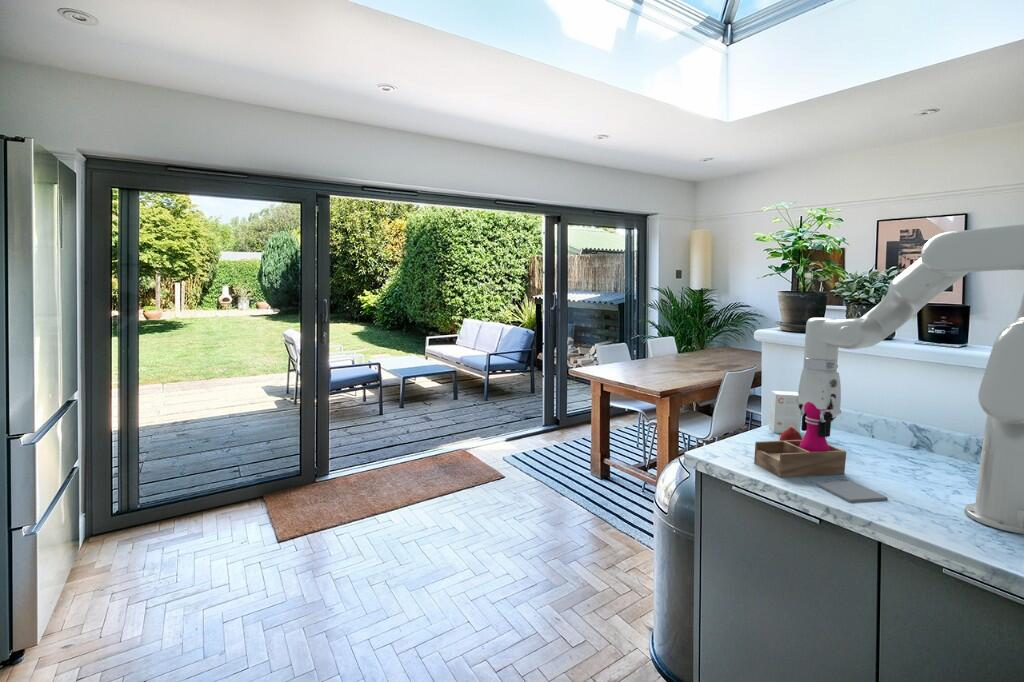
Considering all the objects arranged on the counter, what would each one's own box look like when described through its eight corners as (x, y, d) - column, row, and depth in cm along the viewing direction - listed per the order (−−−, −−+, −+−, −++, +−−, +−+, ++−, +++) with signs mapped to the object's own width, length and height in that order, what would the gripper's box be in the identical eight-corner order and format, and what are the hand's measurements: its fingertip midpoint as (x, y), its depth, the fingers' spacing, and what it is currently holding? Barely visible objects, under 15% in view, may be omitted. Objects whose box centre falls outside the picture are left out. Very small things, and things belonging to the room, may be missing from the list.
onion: (803, 452, 151) (806, 425, 150) (798, 457, 146) (800, 429, 146) (782, 448, 155) (784, 422, 154) (776, 452, 150) (778, 425, 149)
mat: (887, 499, 118) (887, 497, 118) (849, 502, 116) (849, 499, 116) (851, 483, 128) (851, 480, 128) (815, 485, 126) (815, 482, 126)
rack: (844, 474, 134) (846, 451, 133) (780, 477, 131) (782, 454, 130) (813, 460, 144) (815, 439, 144) (754, 463, 141) (755, 441, 140)
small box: (794, 429, 175) (797, 391, 174) (800, 434, 169) (803, 395, 168) (768, 427, 177) (770, 390, 175) (773, 433, 171) (776, 394, 169)
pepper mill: (833, 473, 134) (839, 396, 132) (802, 471, 135) (807, 395, 133) (822, 464, 141) (827, 391, 139) (793, 462, 142) (798, 390, 140)
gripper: (859, 370, 127) (854, 442, 129) (808, 360, 144) (804, 424, 146) (833, 370, 126) (827, 443, 128) (784, 360, 143) (780, 425, 145)
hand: (815, 432), depth 137 cm, fingers closed on pepper mill, 5 cm apart
